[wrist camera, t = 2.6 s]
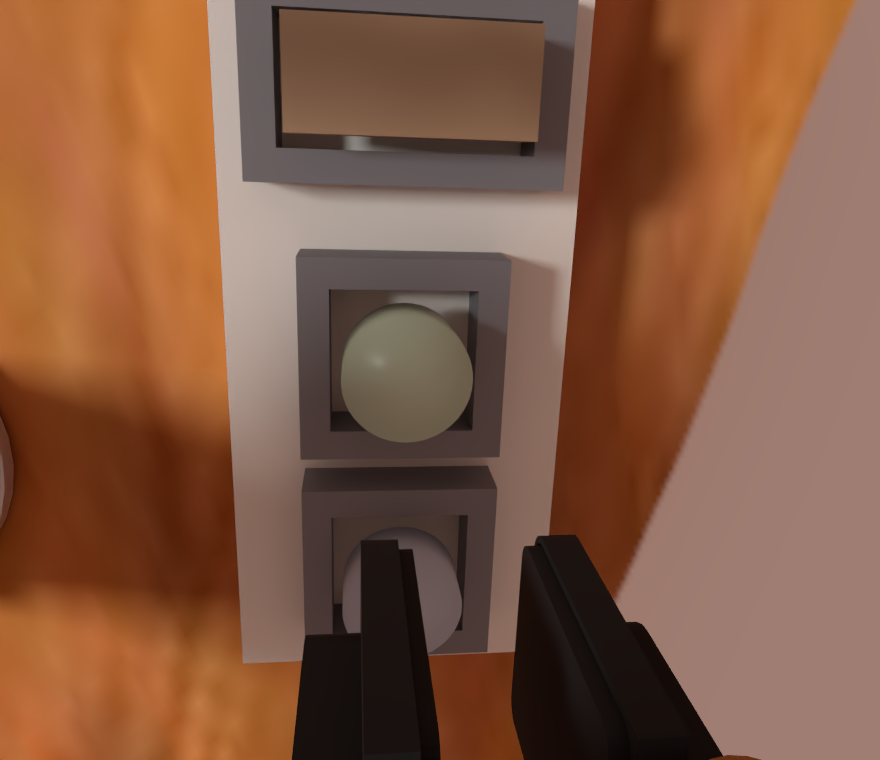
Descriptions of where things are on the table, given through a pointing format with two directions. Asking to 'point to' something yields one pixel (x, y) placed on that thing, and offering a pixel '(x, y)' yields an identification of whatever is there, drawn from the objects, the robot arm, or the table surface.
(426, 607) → the button bluegrey
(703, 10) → the table surface
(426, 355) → the button sage
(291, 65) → the key
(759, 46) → the table surface
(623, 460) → the table surface
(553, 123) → the control panel
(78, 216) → the table surface
